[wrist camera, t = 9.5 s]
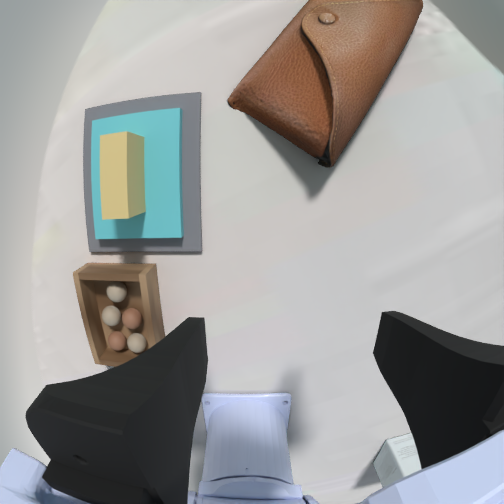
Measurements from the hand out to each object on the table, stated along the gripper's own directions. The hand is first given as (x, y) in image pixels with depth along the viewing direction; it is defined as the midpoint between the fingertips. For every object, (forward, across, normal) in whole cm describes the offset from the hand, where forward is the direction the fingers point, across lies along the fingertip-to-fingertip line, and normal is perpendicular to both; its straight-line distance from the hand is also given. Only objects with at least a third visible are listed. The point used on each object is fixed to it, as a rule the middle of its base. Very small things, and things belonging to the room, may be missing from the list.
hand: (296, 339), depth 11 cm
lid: (+10, +10, -6) cm, 15 cm away
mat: (+10, +10, -6) cm, 15 cm away
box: (+10, +12, +4) cm, 16 cm away
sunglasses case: (+11, -4, -16) cm, 20 cm away
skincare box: (+10, -18, +26) cm, 33 cm away
